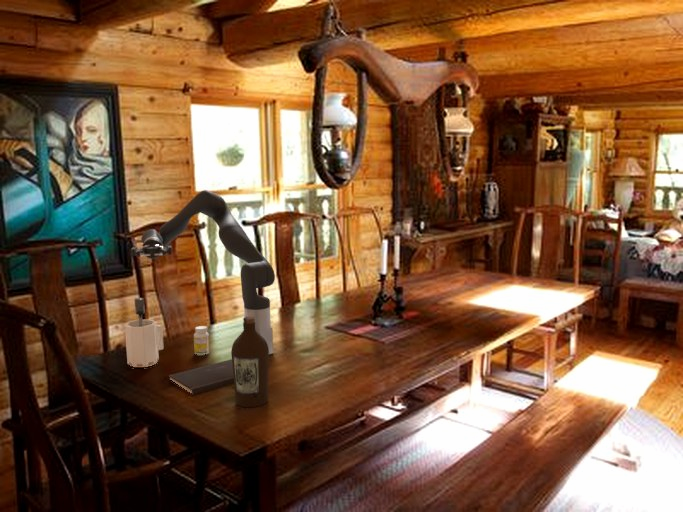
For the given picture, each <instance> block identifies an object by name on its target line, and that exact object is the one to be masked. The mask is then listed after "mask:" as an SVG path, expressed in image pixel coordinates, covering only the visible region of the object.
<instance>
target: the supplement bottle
mask: <svg viewBox="0 0 683 512" xmlns="http://www.w3.org/2000/svg"><path fill="white" fill-rule="evenodd" d="M207 327H208V326H205V325H204V326H203V325H199V326H196V327H194V328H195V329H194V331H195V333H194V334H193V345H194V346H193V347H194V348H193V349H194V355H196V354H197V355H196V356H205V354H206V355H209V354H210V334H209V332H207V330H208V328H207Z"/></svg>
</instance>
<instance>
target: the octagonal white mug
mask: <svg viewBox="0 0 683 512" xmlns="http://www.w3.org/2000/svg"><path fill="white" fill-rule="evenodd" d="M142 321H143V326H142V327H139V319H135V320H131V321H128V322H127V323H125V324H124V331H125V334H124V335H125V349H126V359H127V361H126V362H127V365H128V366H129V365H130V366H133V367H148V366H152V365H154V364H156V363H157V362H159V359H160V357H159V351H162V350H164V337H163V336H164V335H163V325H162V324H157V323H158V322H157V321H156V320H153V319H152V318H151V319H148V318H147V319H142ZM157 364H158V363H157Z"/></svg>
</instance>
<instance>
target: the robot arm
mask: <svg viewBox="0 0 683 512" xmlns="http://www.w3.org/2000/svg"><path fill="white" fill-rule="evenodd" d="M199 213H201V214H203V215H204V216H207V217H208V218H211V219H213V221H214V222H215V223H216V225H217V226H218V237H219V240H220V242H221V244H222V245H223V246H224V247H225V249H226V250H227V252H229V253H230V254H232V255H233V256H234V257H237V258H239V260H240V259H241V260H242V261H244V262H246V263H244V264H243V265H242V266H241V270H240V286H241V293H242V295H241V296H242V301H243V312H244V313H243V314H244V317H248V316H252V317H254V318H255V320H254V322H255V330H256V331H257V332H258V333H259V334H260V335H261V336H262V337H263V338H264V339H265V340H266V342H267V344H268V348H269V356H270V355H272V354H274V334H273V333H274V329H273V328H272V325H271V301H270V298H269V297H267V296H262V295H260V294H258V291H257V290H258V289H262V288H267V287H270V286H272V285H273V284H274V283H275V280H276V274H275V271H274V268H273V266H272V265H271V264H270V262H269V261H268V260H267V259H266V257H264V256H263V254H262V252H260V251H259V250H258V249H257V247H256V246H255V245H254V243H253V242H252V241H251V239H250V238H249V236H248V235H247V233H246V232H245V230H244V229H243V227H242V226H241V225H240V224H239V222H238V221H237V219H236V218H235V217H234V215H233V214H232V212H231V210H230V207H228V204H227V202H226V200H225V199H224V198H223V197H222V196H221V195H218V194H217V193H215V192H212V191H211V190H208V189H204V190H201V191H200V192H198V193H197V194H196V195H195V196H193V198H192V199H191V200H190V201H189V202H188V203H186V205H185V206H184V207H183V208H182V209H181V210H180V211H179V212H178V213H177V214H176V215H175V216H174V217H172V218H171V219H170V220H168V221H166V222H165V223H164V224H162V225H161V226H160V228H159V232H158V231H157V230H156V229H153V228H151V229H148V230H146V231H144V232H143V234H142V235H141V240H140V241H141V242H142V246H140V247H139V248H138V247H136V246H134V247H133V246H132V248H131V249H130V252H131V253H130V254H131V257H135V256H136V257H137V258H141V257H146V258H147V259H157V258H159V257H160V256H162V257H164V256H166V255H167V254H168V255H172V254H173V252H172V251H173V250H172V247H173V246H172V245H169V244H170V243H171V242H172V241H173V240H175V238H177V237H178V236H180V235H181V234H184V232H185V231H186V230H187V228H188V227H189V223H190V221H191V219H192V218H193V217H194V216H196V215H197V214H199ZM244 317H243V318H244Z"/></svg>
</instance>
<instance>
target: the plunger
mask: <svg viewBox="0 0 683 512" xmlns="http://www.w3.org/2000/svg"><path fill="white" fill-rule="evenodd" d="M134 311H135V315H138V320H139V327H142V326H143V321H142V320H143V315H144V314H145V298H143V297H137V298H134Z"/></svg>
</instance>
